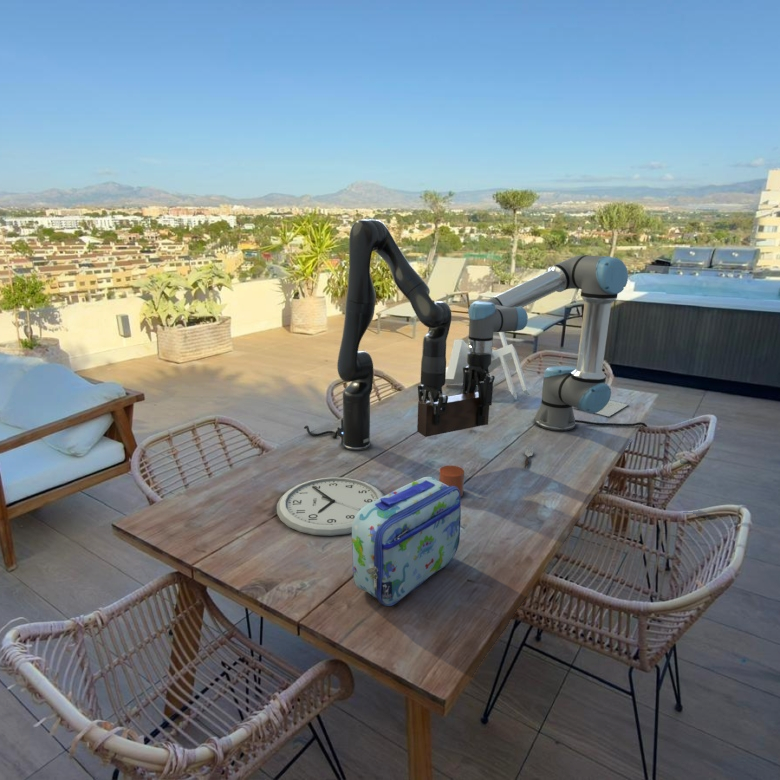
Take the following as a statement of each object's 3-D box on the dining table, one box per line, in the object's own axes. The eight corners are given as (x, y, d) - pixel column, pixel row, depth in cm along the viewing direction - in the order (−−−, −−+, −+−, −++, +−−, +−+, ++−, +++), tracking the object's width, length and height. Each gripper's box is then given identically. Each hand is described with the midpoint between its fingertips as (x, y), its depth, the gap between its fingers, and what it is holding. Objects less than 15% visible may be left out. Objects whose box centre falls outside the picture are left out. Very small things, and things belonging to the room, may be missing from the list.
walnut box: (478, 419, 175) (480, 391, 172) (488, 424, 170) (490, 395, 167) (417, 431, 164) (418, 401, 161) (425, 437, 160) (426, 406, 157)
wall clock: (392, 527, 129) (268, 531, 127) (391, 533, 130) (269, 537, 127) (383, 473, 158) (282, 475, 155) (383, 478, 158) (282, 480, 156)
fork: (520, 469, 166) (521, 463, 165) (526, 450, 180) (526, 444, 180) (528, 470, 165) (529, 464, 164) (533, 451, 179) (534, 445, 179)
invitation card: (608, 416, 214) (573, 407, 224) (608, 416, 214) (573, 408, 224) (628, 404, 229) (594, 396, 238) (628, 405, 229) (594, 397, 238)
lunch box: (381, 619, 101) (382, 525, 95) (345, 592, 109) (344, 503, 102) (464, 563, 119) (469, 480, 113) (428, 543, 126) (432, 464, 120)
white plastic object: (461, 429, 252) (437, 405, 227) (444, 352, 274) (420, 323, 250) (535, 404, 240) (518, 377, 215) (510, 326, 262) (492, 293, 237)
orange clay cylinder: (462, 487, 154) (464, 466, 152) (463, 499, 147) (464, 477, 145) (438, 486, 154) (439, 464, 152) (438, 497, 148) (439, 475, 146)
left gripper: (410, 364, 161) (409, 416, 167) (435, 376, 149) (433, 431, 154) (431, 362, 165) (429, 413, 170) (457, 373, 153) (454, 427, 158)
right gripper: (453, 347, 170) (449, 414, 177) (488, 359, 155) (482, 432, 162) (471, 345, 173) (467, 411, 180) (508, 357, 158) (501, 429, 165)
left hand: (431, 421), depth 162 cm, fingers closed on walnut box, 5 cm apart
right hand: (475, 421), depth 171 cm, fingers closed on walnut box, 5 cm apart
